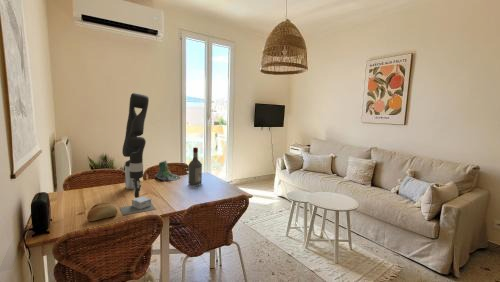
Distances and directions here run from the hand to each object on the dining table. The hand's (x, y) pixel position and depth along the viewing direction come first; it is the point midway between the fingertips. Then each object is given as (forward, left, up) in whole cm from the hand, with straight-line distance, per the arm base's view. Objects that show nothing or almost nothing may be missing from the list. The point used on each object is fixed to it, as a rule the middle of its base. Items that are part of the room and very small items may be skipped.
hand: (136, 197), depth 152 cm
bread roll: (+7, -19, -7) cm, 21 cm away
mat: (+3, 0, -6) cm, 7 cm away
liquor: (-28, +49, -7) cm, 57 cm away
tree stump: (-53, +34, -7) cm, 64 cm away
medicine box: (-4, +1, -4) cm, 6 cm away
